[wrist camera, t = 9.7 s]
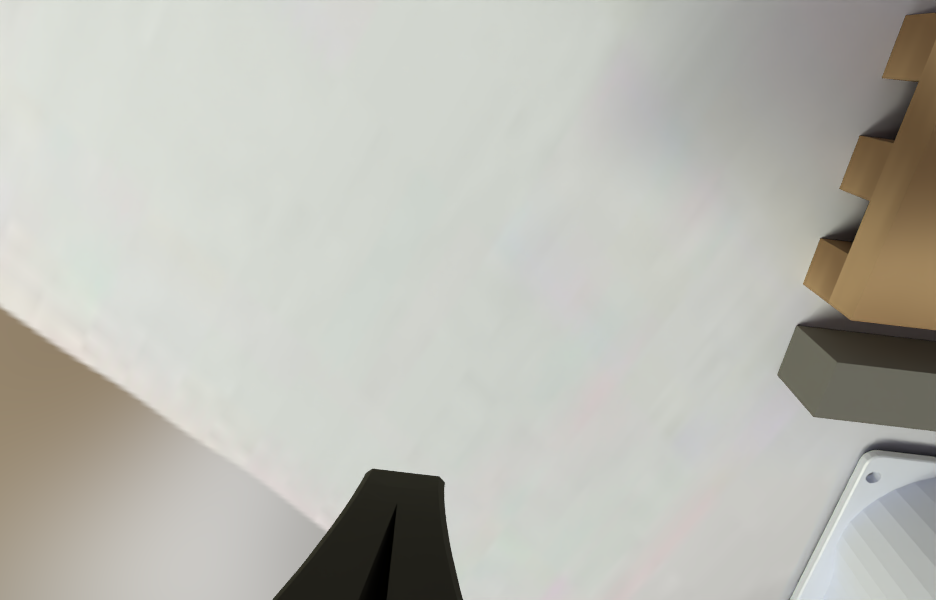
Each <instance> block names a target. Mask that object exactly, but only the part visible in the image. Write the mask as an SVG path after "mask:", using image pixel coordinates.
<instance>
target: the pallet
mask: <svg viewBox="0 0 936 600" xmlns="http://www.w3.org/2000/svg"><path fill="white" fill-rule="evenodd" d="M882 78H886V79H895V80H903V81H912V82H918V85H917V87H916V90H915V92H914V94H913V97H912V99H911V102H910V104H909V107H908V109H907V112H906V114H905V116H904V119H903V121H902V124H901V126H900V129H899V131H898V134H897V136H896V138H895V140H893V139H884V138H876V137H867V136H859V139H858V141H857V144H856V147H855V149H854V152H853V154H852V157H851V160H850V162H849V165H848V168H847V170H846V173H845V175H844V178H843V181H842V183H841V186H840V188H839V189H841V190H843V191H846V192H848V193H851V194H853V195H856V196H859V197H861V198H864V199H866V200H869V201H870V202H869V205H868V207H867V209H866V212H865V214H864V217H863V219H862V222H861V224H860V227H859V229H858V231H857V234H856V236H855V239H854V241H853V242H849V241H840V240H831V239H823V238H820V241H819V243H818V246H817V249H816V251H815V254H814V256H813V259H812V262H811V264H810V267H809V270H808V272H807V275H806V277H805V280H804V283H803V284H804V285H805V286H806V287H807V288H809V289H810V290H811V291H813V292H814V293H815V294H817V295H818V296H819V297H821V298H822V299H823V300H825V301H826V302H827V303H829V304H830V305H831V306H833V307H834V308H835V309H837V310H838V311H839V312H841V313H842V314H843V315H844V316H846V317H847V318H848V319H850V320H852V321H861V322H870V323H878V324H887V325H895V326H904V327H912V328H921V329H930V330H936V13H926V14H916V15H906V16H905V18H904V21H903V24H902V26H901V29H900V32H899V34H898V37H897V39H896V42H895V45H894V47H893V50H892V52H891V55H890V58H889V60H888V63H887V66H886V68H885V71H884V73H883V76H882Z"/></svg>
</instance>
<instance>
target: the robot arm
mask: <svg viewBox="0 0 936 600" xmlns="http://www.w3.org/2000/svg"><path fill="white" fill-rule="evenodd" d="M872 472H873V473H872ZM870 473H872V474H870ZM868 474H870V475H868ZM867 475H868V476H867ZM444 485H445V482H444V481H443V480H442V479H441V478H440V477H439V476H430V475H422V474H413V473H405V472H396V471H388V470H379V469H371V470H370V471H368V472H367V473H366V474H365V476H364V478H363V480H362V481H361V483H360V485H359V486H358V488H357V490H356V491H355V493H354V494H353V496H352V498H351V499H350V501H349V502H348V504H347V505H346V507H345V508H344V510H343V511H342V512H341V514H340V515H339V517H338V518H337V519H336V521H335V522H334V524H333V525H332V527H331V528H330V529H329V531H328V532H327V533H326V534H325V536H324V537H323V538H322V540H321V541H320V542H319V544H318V545H317V546H316V548H315V549H314V550H313V551H312V553H311V554H310V555H309V557H308V558H307V559H306V561H305V562H304V563H303V564H302V566H301V567H300V568H299V569H298V571H297V572H296V573H295V574H294V575H293V576H292V577H291V579H290V580H289V581H288V582H287V583H286V584H285V586H284V587H283V588H282V589H281V590H280V591H279V593H278V594H277V595H276V596H275V597H274V598H273V600H463V598H462V595H461V591H460V587H459V583H458V578H457V574H456V570H455V565H454V561H453V557H452V552H451V547H450V542H449V536H448V529H447V523H446V515H445V504H444ZM790 600H936V457H933V456H924V455H916V454H907V453H899V452H890V451H882V450H872V451H869V452H867V453H865V454H864V455H863V456H862V457H861V458H860V460H859V462H858V464H857V466H856V468H855V470H854V472H853V474H852V476H851V478H850V480H849V482H848V484H847V486H846V488H845V490H844V492H843V494H842V496H841V498H840V500H839V502H838V504H837V506H836V508H835V510H834V512H833V514H832V516H831V518H830V520H829V522H828V524H827V526H826V528H825V530H824V532H823V534H822V536H821V538H820V540H819V542H818V544H817V546H816V548H815V550H814V552H813V554H812V556H811V558H810V560H809V562H808V564H807V566H806V568H805V570H804V572H803V574H802V576H801V578H800V580H799V582H798V584H797V586H796V588H795V590H794V592H793V594H792V596H791V598H790Z"/></svg>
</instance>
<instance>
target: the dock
mask: <svg viewBox="0 0 936 600" xmlns="http://www.w3.org/2000/svg"><path fill="white" fill-rule="evenodd" d="M778 377H779V378H780V379H781V380H782V381H783V382H784V383H785V385H786V386H787V387H788V388H789V389H790V390H791V391H792V393H793V394H794V395H795V396H796V397H797V398H798V400H799V401H800V402H801V403H802V404H803V405H804V406H805V408H806V409H807V410H808V411H809V412H810V413H811V415H812V416H813V417H818V418H827V419H835V420H844V421H852V422H861V423H869V424H878V425H887V426H895V427H904V428H912V429H921V430H929V431H936V342H935V341H926V340H918V339H909V338H901V337H892V336H883V335H875V334H866V333H858V332H849V331H841V330H832V329H824V328H815V327H806V326H798V325H797V326H796V328H795V331H794V334H793V336H792V339H791V341H790V344H789V346H788V349H787V352H786V354H785V357H784V359H783V362H782V364H781V367H780V369H779V372H778Z"/></svg>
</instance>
